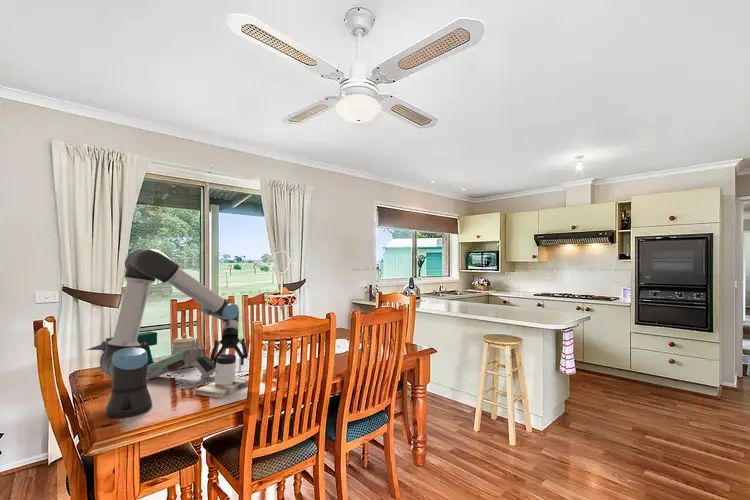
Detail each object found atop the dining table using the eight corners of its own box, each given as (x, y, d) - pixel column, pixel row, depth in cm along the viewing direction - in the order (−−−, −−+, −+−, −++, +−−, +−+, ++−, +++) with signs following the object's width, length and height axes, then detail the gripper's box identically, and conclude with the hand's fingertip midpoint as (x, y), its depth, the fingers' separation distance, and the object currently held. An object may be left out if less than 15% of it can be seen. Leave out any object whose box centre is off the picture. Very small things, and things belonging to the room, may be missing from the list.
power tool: (88, 386, 173) (89, 343, 174) (81, 384, 177) (82, 342, 177) (158, 369, 200) (158, 332, 201) (151, 367, 204) (151, 331, 204)
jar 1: (172, 363, 212) (173, 332, 212) (197, 361, 216) (198, 330, 217) (168, 369, 200) (169, 336, 200) (195, 367, 204) (195, 335, 204)
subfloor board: (220, 398, 159) (220, 393, 159) (195, 394, 163) (195, 389, 163) (250, 383, 178) (250, 379, 178) (227, 380, 182) (227, 376, 182)
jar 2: (238, 381, 174) (240, 356, 175) (225, 386, 167) (227, 359, 167) (223, 378, 178) (225, 353, 178) (210, 383, 170) (212, 356, 171)
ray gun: (215, 374, 183) (200, 336, 183) (154, 399, 182) (139, 361, 182) (221, 370, 190) (206, 333, 190) (162, 394, 189) (147, 358, 189)
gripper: (253, 334, 192) (253, 374, 176) (207, 337, 185) (203, 378, 169) (253, 325, 187) (253, 365, 172) (206, 328, 180) (201, 370, 164)
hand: (228, 372), depth 170 cm, fingers open, 9 cm apart
